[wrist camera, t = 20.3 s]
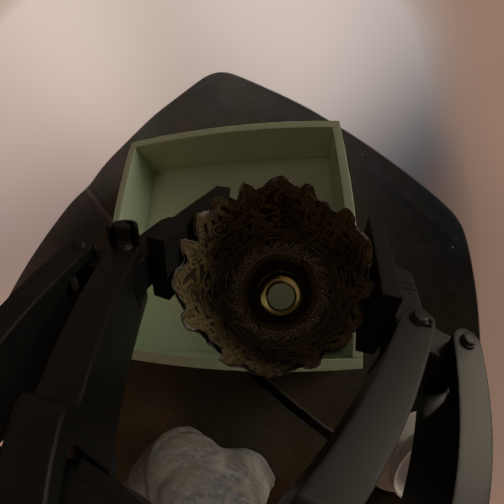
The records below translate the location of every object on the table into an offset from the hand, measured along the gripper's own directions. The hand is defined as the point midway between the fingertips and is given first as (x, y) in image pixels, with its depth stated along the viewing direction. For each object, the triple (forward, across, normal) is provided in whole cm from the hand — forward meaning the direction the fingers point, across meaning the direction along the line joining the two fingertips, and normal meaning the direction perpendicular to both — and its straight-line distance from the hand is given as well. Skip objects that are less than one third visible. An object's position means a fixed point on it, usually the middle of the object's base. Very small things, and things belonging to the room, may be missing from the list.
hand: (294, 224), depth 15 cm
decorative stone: (-7, -1, -24) cm, 25 cm away
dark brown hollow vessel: (0, 0, -5) cm, 5 cm away
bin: (+8, -6, -8) cm, 13 cm away
